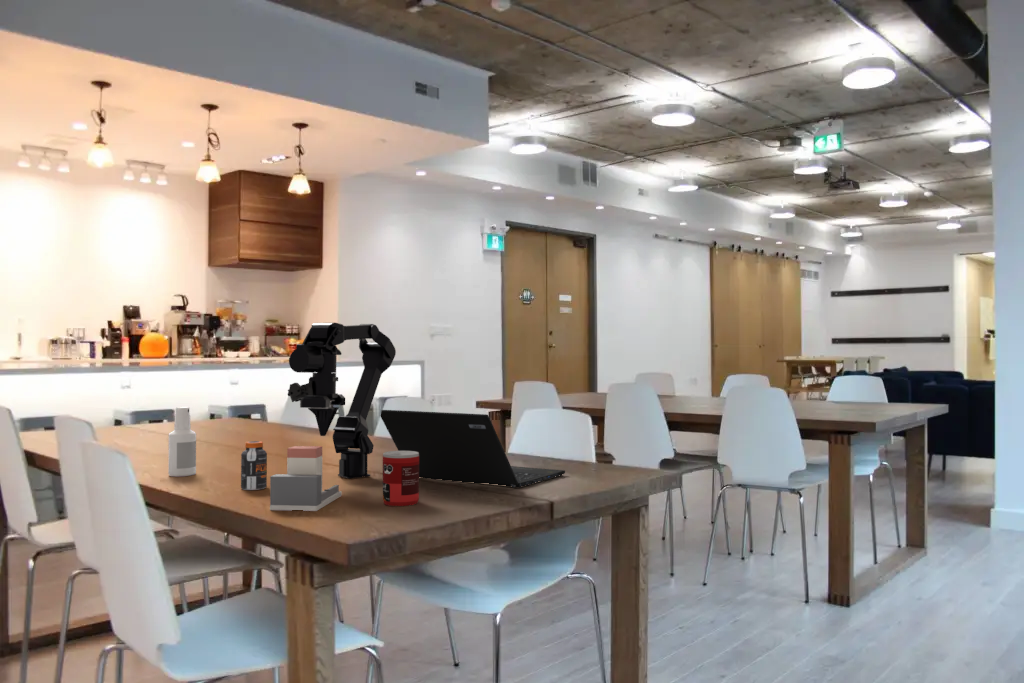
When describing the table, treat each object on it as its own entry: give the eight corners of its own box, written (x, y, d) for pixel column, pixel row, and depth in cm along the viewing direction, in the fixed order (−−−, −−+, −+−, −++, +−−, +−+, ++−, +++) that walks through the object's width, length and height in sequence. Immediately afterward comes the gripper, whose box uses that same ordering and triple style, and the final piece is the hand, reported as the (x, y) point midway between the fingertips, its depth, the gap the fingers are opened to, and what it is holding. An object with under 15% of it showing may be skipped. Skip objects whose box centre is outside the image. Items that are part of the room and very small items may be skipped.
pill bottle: (258, 491, 188) (258, 443, 188) (236, 490, 189) (236, 442, 189) (271, 486, 194) (271, 440, 194) (249, 485, 195) (249, 439, 195)
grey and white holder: (299, 494, 183) (299, 464, 183) (341, 495, 182) (341, 465, 182) (269, 510, 166) (269, 476, 166) (316, 510, 165) (316, 477, 165)
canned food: (386, 499, 177) (386, 450, 177) (421, 499, 177) (421, 450, 177) (379, 506, 170) (379, 455, 170) (416, 506, 169) (416, 455, 169)
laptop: (566, 477, 210) (566, 404, 210) (487, 500, 178) (487, 414, 178) (465, 467, 228) (465, 399, 228) (376, 486, 196) (376, 408, 196)
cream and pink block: (294, 495, 174) (294, 446, 174) (322, 496, 174) (322, 446, 174) (287, 499, 170) (287, 448, 170) (316, 500, 170) (316, 448, 170)
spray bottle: (189, 476, 208) (189, 408, 208) (163, 476, 208) (164, 408, 208) (200, 472, 215) (200, 406, 215) (175, 472, 215) (175, 406, 215)
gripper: (304, 372, 206) (302, 432, 206) (279, 372, 188) (277, 438, 187) (346, 373, 206) (345, 433, 205) (325, 373, 187) (324, 439, 187)
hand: (322, 435), depth 196 cm, fingers closed
